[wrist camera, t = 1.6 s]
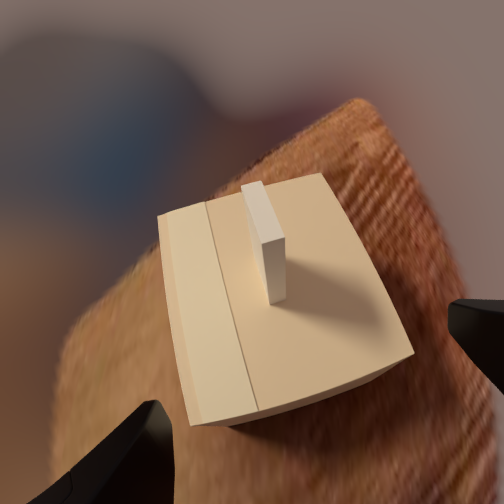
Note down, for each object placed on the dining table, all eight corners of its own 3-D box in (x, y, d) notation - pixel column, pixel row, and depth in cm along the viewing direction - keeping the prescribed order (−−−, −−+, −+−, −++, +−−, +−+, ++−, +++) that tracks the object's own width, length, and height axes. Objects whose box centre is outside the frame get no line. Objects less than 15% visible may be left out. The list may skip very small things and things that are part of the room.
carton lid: (409, 356, 12) (468, 311, 8) (194, 426, 12) (139, 421, 7) (320, 179, 19) (324, 104, 14) (160, 222, 18) (126, 153, 14)
